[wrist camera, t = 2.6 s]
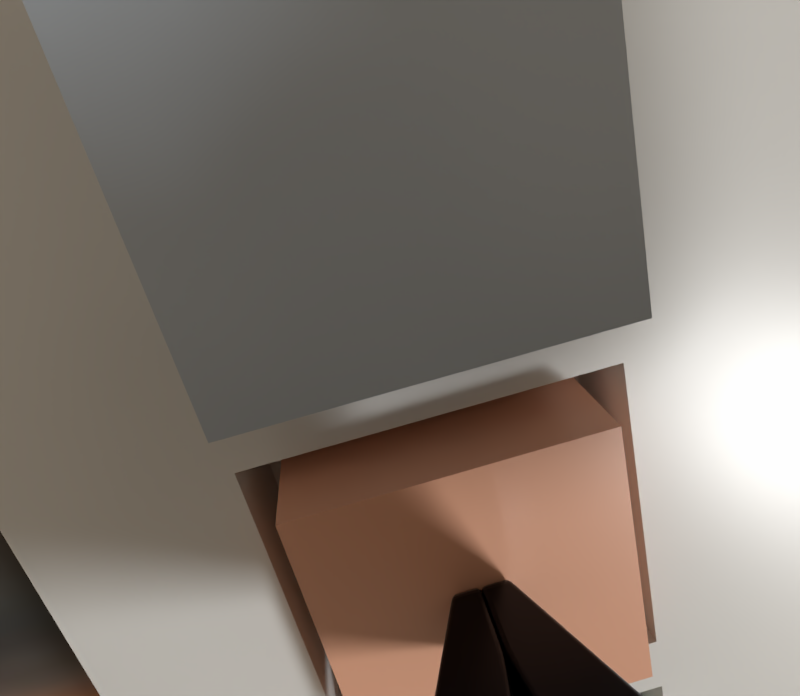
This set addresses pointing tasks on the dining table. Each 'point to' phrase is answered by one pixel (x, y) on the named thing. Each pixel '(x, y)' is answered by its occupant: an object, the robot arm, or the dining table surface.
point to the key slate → (358, 185)
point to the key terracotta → (465, 534)
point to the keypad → (418, 394)
